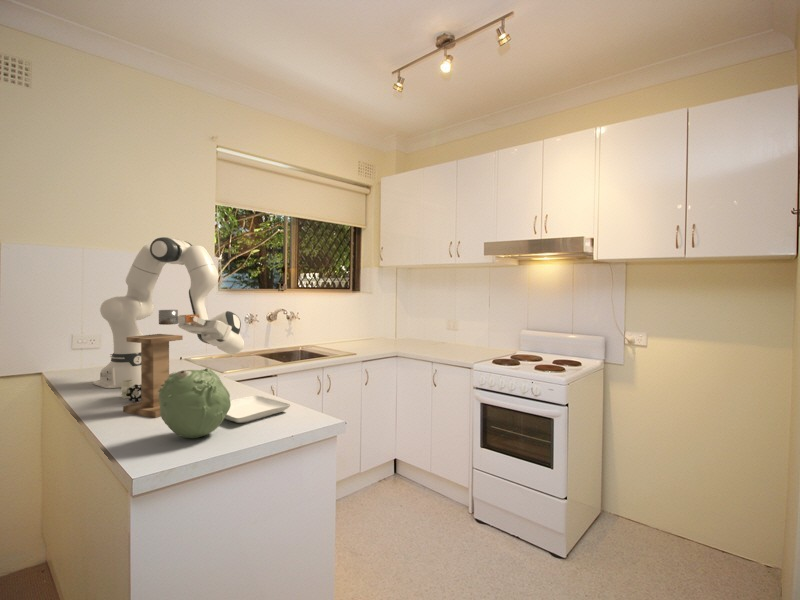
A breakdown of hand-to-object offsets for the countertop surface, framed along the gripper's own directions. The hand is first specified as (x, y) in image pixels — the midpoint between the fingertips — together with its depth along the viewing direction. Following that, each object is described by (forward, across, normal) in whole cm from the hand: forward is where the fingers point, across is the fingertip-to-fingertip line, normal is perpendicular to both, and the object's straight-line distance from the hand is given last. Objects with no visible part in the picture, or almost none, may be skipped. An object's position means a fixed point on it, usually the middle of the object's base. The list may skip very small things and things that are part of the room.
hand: (187, 317), depth 155 cm
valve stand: (-4, 0, +34) cm, 34 cm away
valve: (-10, -22, +32) cm, 39 cm away
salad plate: (-13, +32, +30) cm, 46 cm away
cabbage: (+7, +34, +41) cm, 54 cm away
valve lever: (+2, 0, +3) cm, 4 cm away
